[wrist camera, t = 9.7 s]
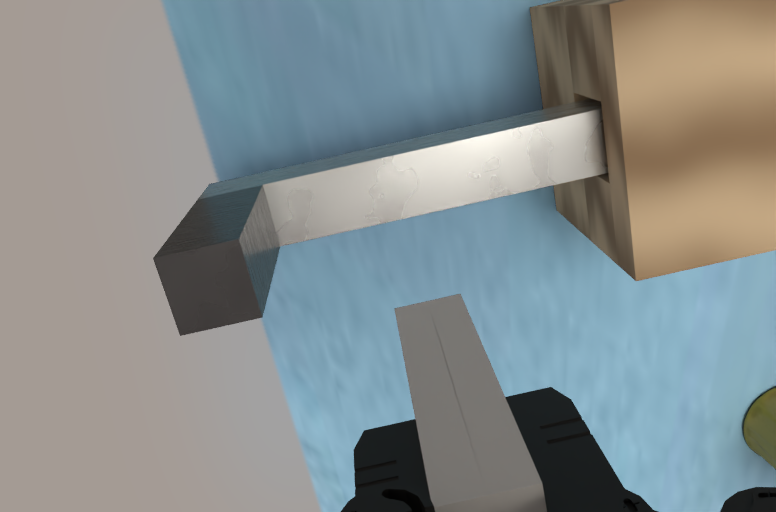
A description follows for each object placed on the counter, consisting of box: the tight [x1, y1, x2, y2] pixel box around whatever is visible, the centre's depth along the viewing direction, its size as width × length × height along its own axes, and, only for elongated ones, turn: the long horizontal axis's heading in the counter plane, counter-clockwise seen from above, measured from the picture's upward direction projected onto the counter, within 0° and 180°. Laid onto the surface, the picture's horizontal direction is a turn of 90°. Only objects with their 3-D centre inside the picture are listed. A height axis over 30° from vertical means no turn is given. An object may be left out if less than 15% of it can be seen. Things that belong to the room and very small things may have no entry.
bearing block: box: [530, 0, 776, 281], centre depth 35 cm, size 12×8×12 cm, turn 12°
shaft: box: [153, 98, 609, 336], centre depth 29 cm, size 3×25×11 cm, turn 102°
